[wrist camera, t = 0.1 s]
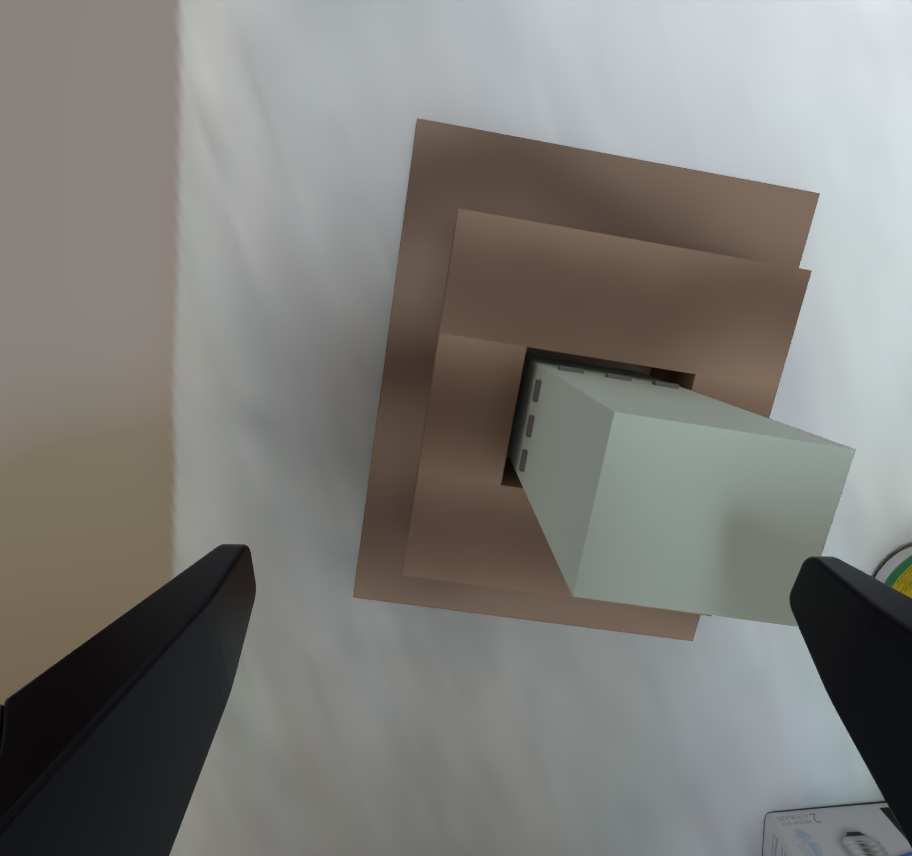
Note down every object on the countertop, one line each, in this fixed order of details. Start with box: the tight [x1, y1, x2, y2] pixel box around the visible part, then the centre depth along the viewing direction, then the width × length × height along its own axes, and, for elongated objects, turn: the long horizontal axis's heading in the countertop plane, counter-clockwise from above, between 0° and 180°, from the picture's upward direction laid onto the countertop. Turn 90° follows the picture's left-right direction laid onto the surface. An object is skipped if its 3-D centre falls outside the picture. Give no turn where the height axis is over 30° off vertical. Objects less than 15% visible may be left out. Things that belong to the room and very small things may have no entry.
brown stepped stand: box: [353, 118, 820, 641], centre depth 22 cm, size 20×16×5 cm
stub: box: [507, 354, 856, 626], centre depth 18 cm, size 4×5×12 cm
